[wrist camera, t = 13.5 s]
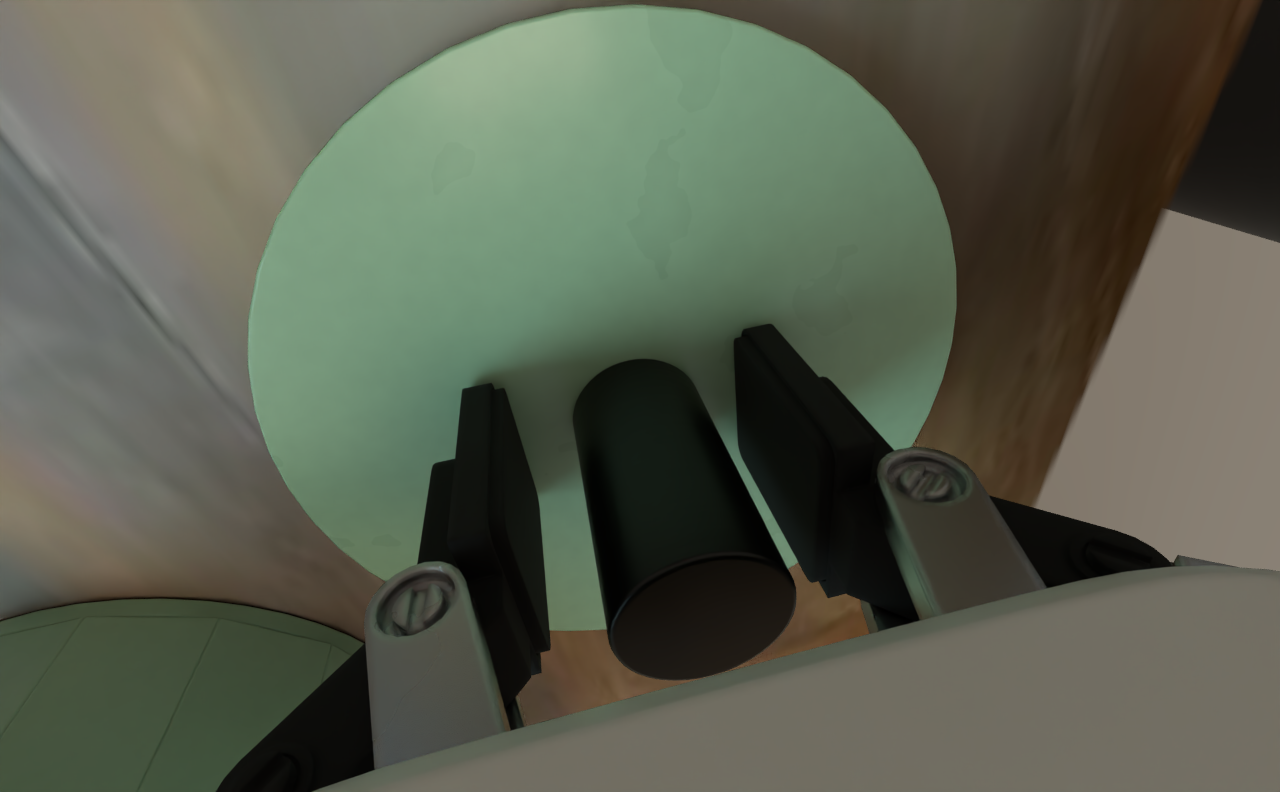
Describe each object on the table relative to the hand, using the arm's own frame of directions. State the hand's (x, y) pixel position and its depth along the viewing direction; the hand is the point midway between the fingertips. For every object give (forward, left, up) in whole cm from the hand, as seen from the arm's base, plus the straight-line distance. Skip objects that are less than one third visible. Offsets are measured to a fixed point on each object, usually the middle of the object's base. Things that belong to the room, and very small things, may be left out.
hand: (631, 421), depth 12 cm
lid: (0, 0, -1) cm, 1 cm away
